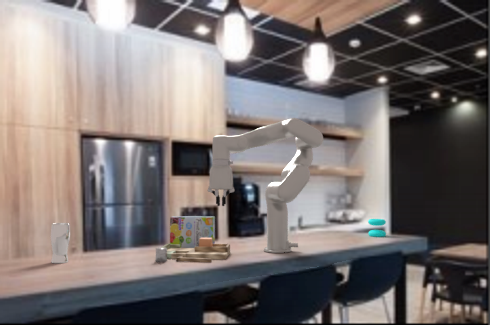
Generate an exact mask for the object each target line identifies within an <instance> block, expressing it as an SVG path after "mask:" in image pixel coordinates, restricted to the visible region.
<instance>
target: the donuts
mask: <svg viewBox="0 0 490 325" xmlns="http://www.w3.org/2000/svg"><path fill="white" fill-rule="evenodd" d="M367 222H368V224H369V225H370V226H375V227H382V226H385V225H386V223H387V221H386V220H385V219H383V218H369V219H368V220H367ZM368 236H369V237H374V238H384V237H386V236H387V233H386V231H385V230H383V229H371V230H369V231H368Z"/></svg>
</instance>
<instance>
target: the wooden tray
mask: <svg viewBox="0 0 490 325" xmlns="http://www.w3.org/2000/svg"><path fill="white" fill-rule="evenodd" d="M159 248H167V260H168V259H172V260H174V259H175V260H176V258H177V257H179V256H184V258H211V260H226V259H228V257H229V256H230V254H231V243H215V244H213V247H195V248H180V245H178V244H170V242H169V243H166V244H164V245H163V246H160V247H159ZM227 256H228V257H227Z"/></svg>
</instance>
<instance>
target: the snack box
mask: <svg viewBox="0 0 490 325" xmlns="http://www.w3.org/2000/svg"><path fill="white" fill-rule="evenodd" d="M215 219H216V217H215V216H214V215H213V216H211V215H210V216H203V215H202V216H201V215H197V216H196V215H188V216H186V215H185V216H179V215H178V216H170V220H169V221H170V222H169V225H170V226H169V229H170V230H169V243H170V244H178V245H180V248H195V247H199V239H200V238H213V244H216V242H215V240H216V232H215V230H216V229H215V228H216V222H215V221H216V220H215Z"/></svg>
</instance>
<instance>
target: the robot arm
mask: <svg viewBox="0 0 490 325" xmlns="http://www.w3.org/2000/svg"><path fill="white" fill-rule="evenodd" d="M294 137H295V140H294V141H295V142H294V143H295V146H296V147H295V148H296V151H295V152H296V153H295V155H294V156H293V158H292V159H291V161H290V162H289V163H288V164H287V165H286V166H285V167H284V169H283V170H282V171H281V174H280V179H281V181H273V182H270V183H269V184H268V185H267V186H266V189H265V193H264V196H265V201H266V202H265V203H266V247H263V252H266V253H273V254H280V253H282V254H284V252H285V253H290V252H292V248H299V243H298V242H290V241H289V233H288V232H289V231H288V230H289V229H288V228H289V223H288V222H289V221H288V219H289V217H288V216H289V215H288V213H289V212H288V204H289V203H291V202H293V201H294V200H295V199H296V198H297V197H298V196H299V195H300V193H301V192H302V191H303V190H304V188H305V187H306V186H307V184H308V183H309V181H310V179H311V171H310V168H309V167H310V166H311V165H312V163H313V160H314V153H313V149H315V148H318V147H320V146H321V145H322V144H323V142H324V136H323V133H322V132H321V131H320V130H319V129H318V128H316V127H315V126H313V125H311V124H308V123H307V122H305V121H304V120H302V119H299V118H296V117H291V118H288V119H284V120H280V121H278V122H275V123H271V124H268V125H265V126H261V127H258V128H256V129H254V130H251V131H248V132H245V133H243V134H239V135H225V134H224V135H223V134H222V135H220V134H219V135H215V136H213V137H212V166H211V167H210V170H209V178H208V181H209V182H208V187H207V192H208V193H210V194H211V193H212V194H213V196H215V205H216V206H217V207H220V206H222V207H225V205H227V196H228V195H229V194H230V193H234V192H235V186H234V177H233V174H234V173H233V169H232V167H231V165H234V160H231V158H230V156H231V155H230V154H232V155H233V154H240V153H243V152H245V151H247V150H250V149H253V148H254V149H255V148H258V147H259V148H260V147H265V146H268V145H271V144H274V143H277V142H280V141H283V140H287V139H289V138H294ZM220 190H221V191H223V192H222V197H221V196H220V195H219V194H220V192H219V191H220Z"/></svg>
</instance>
